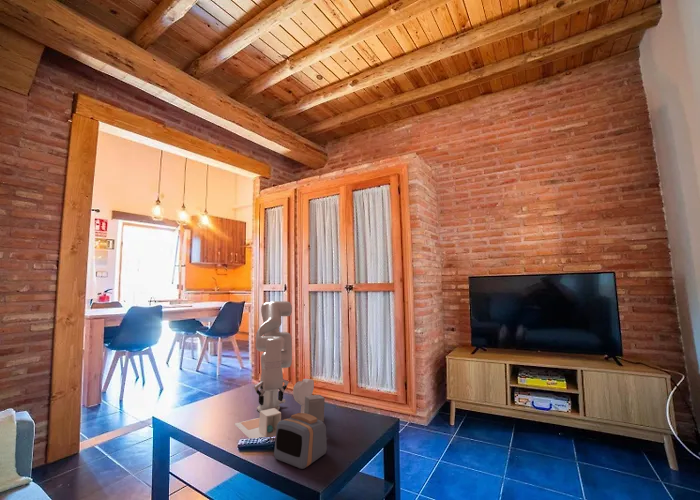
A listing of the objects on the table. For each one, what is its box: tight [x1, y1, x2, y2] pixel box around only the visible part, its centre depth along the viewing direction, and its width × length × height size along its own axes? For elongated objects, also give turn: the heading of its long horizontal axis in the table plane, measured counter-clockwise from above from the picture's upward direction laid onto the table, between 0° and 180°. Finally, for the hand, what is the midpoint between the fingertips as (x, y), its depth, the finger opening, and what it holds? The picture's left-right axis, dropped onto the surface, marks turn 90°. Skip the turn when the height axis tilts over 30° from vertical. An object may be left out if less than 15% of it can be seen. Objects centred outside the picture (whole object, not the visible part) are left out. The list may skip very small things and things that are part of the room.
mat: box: [234, 417, 276, 440], centre depth 156 cm, size 16×26×1 cm, turn 39°
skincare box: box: [304, 394, 326, 424], centre depth 157 cm, size 8×7×16 cm
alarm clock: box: [273, 412, 328, 470], centre depth 133 cm, size 16×16×16 cm
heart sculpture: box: [292, 378, 315, 413], centre depth 176 cm, size 16×5×18 cm, turn 156°
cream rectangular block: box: [258, 408, 282, 437], centre depth 153 cm, size 7×7×9 cm
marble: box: [267, 425, 273, 432], centre depth 153 cm, size 3×3×3 cm
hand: (270, 402), depth 154 cm, fingers open, 9 cm apart
